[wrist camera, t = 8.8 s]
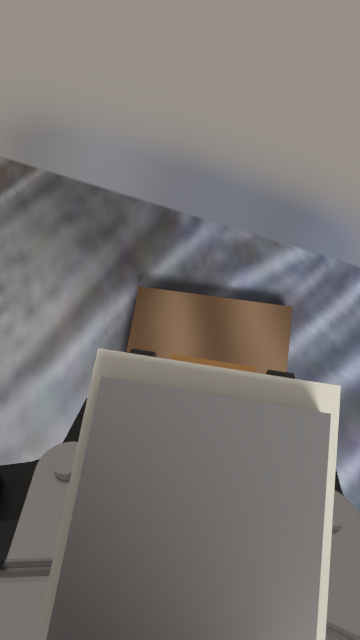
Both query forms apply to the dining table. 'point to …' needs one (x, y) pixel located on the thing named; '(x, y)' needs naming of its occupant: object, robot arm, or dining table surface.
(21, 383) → the dining table surface
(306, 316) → the dining table surface
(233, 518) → the rail module
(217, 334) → the rail board
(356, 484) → the dining table surface
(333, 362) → the dining table surface
